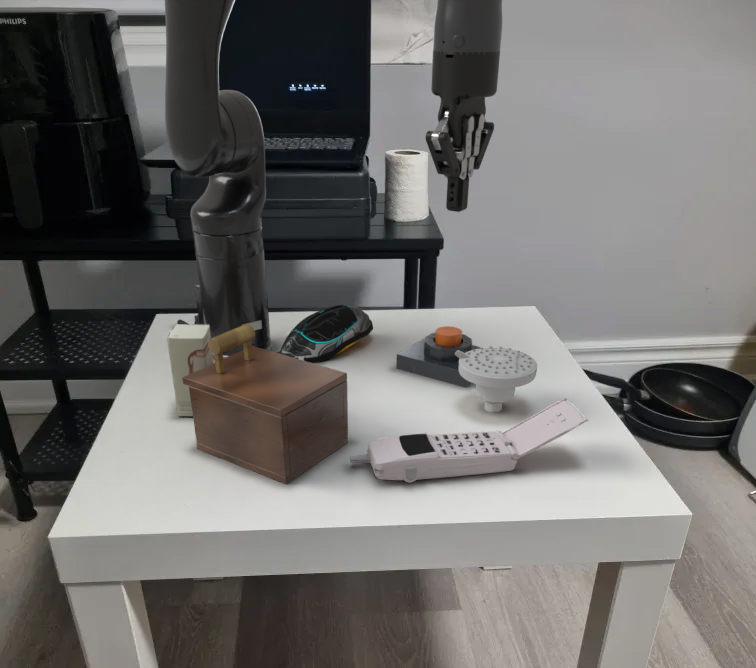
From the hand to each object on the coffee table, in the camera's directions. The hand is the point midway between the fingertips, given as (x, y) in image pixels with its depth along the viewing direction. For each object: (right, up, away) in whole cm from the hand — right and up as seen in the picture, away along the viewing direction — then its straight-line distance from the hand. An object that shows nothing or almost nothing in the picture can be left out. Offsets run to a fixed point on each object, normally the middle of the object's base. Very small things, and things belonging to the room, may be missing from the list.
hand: (456, 210), depth 93 cm
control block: (0, -18, +12) cm, 21 cm away
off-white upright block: (-32, -25, +1) cm, 41 cm away
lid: (-22, -23, -12) cm, 34 cm away
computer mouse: (-17, -14, +17) cm, 28 cm away
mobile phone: (0, -33, -11) cm, 34 cm away
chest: (-22, -30, -7) cm, 38 cm away
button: (0, -14, +10) cm, 17 cm away
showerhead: (+4, -25, +1) cm, 25 cm away
